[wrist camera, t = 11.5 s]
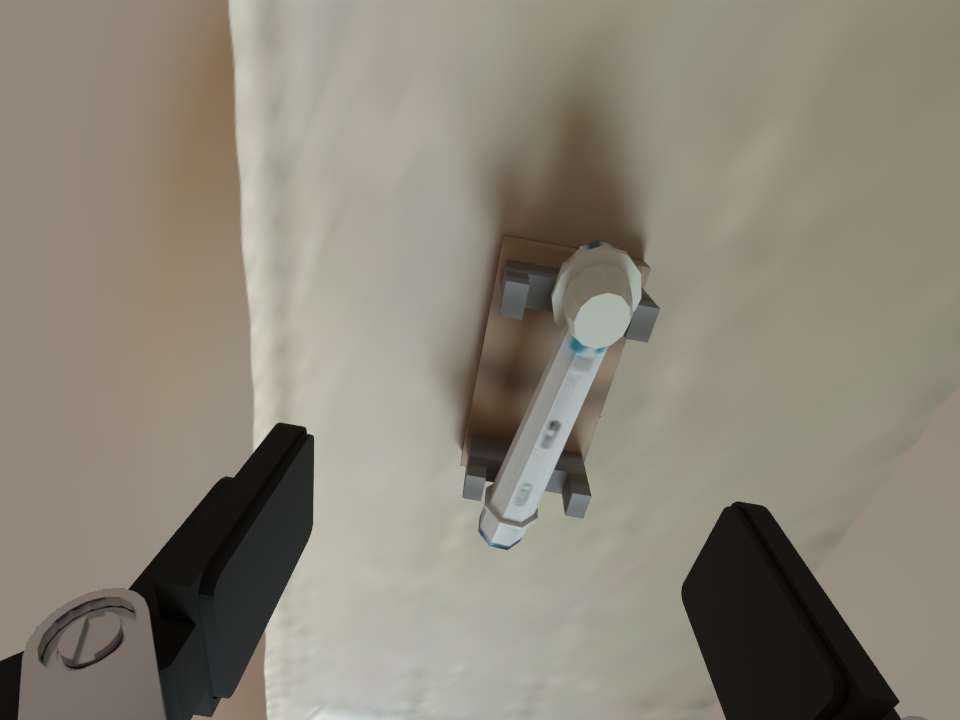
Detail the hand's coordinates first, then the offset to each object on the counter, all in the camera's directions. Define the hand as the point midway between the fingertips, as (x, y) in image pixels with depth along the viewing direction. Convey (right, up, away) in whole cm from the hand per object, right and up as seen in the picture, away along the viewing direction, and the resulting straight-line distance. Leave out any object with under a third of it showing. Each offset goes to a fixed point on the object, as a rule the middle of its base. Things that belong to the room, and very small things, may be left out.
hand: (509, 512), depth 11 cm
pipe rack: (+5, +3, +30) cm, 30 cm away
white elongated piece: (+4, +1, +26) cm, 26 cm away
